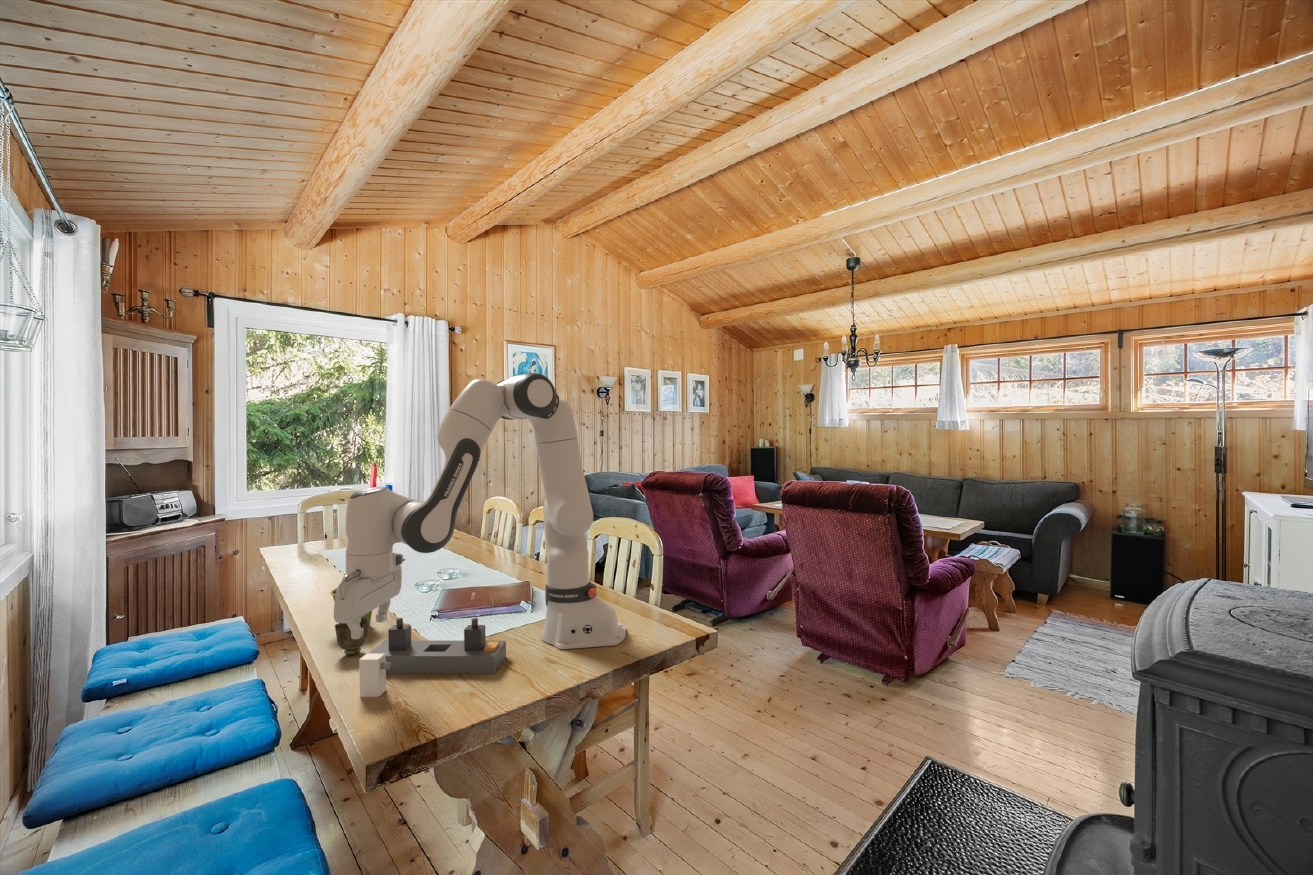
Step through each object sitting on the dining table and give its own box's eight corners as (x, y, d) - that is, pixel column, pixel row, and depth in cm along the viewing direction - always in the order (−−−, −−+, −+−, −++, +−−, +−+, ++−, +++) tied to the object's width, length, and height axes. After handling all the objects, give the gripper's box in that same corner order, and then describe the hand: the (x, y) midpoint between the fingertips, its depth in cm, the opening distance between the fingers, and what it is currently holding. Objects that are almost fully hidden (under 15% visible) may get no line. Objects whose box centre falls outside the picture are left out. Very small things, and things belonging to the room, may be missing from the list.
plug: (393, 690, 119) (392, 653, 119) (386, 697, 116) (385, 659, 116) (367, 690, 119) (367, 653, 119) (360, 697, 116) (359, 659, 116)
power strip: (506, 656, 136) (505, 612, 135) (494, 673, 127) (493, 625, 126) (385, 656, 136) (384, 612, 136) (365, 673, 127) (364, 625, 127)
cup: (331, 654, 138) (331, 622, 138) (363, 645, 143) (363, 614, 143) (340, 663, 133) (339, 630, 133) (373, 653, 138) (372, 622, 138)
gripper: (356, 578, 106) (356, 649, 107) (407, 553, 127) (407, 613, 127) (324, 577, 107) (324, 648, 107) (379, 553, 127) (380, 613, 127)
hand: (369, 629), depth 117 cm, fingers open, 8 cm apart
